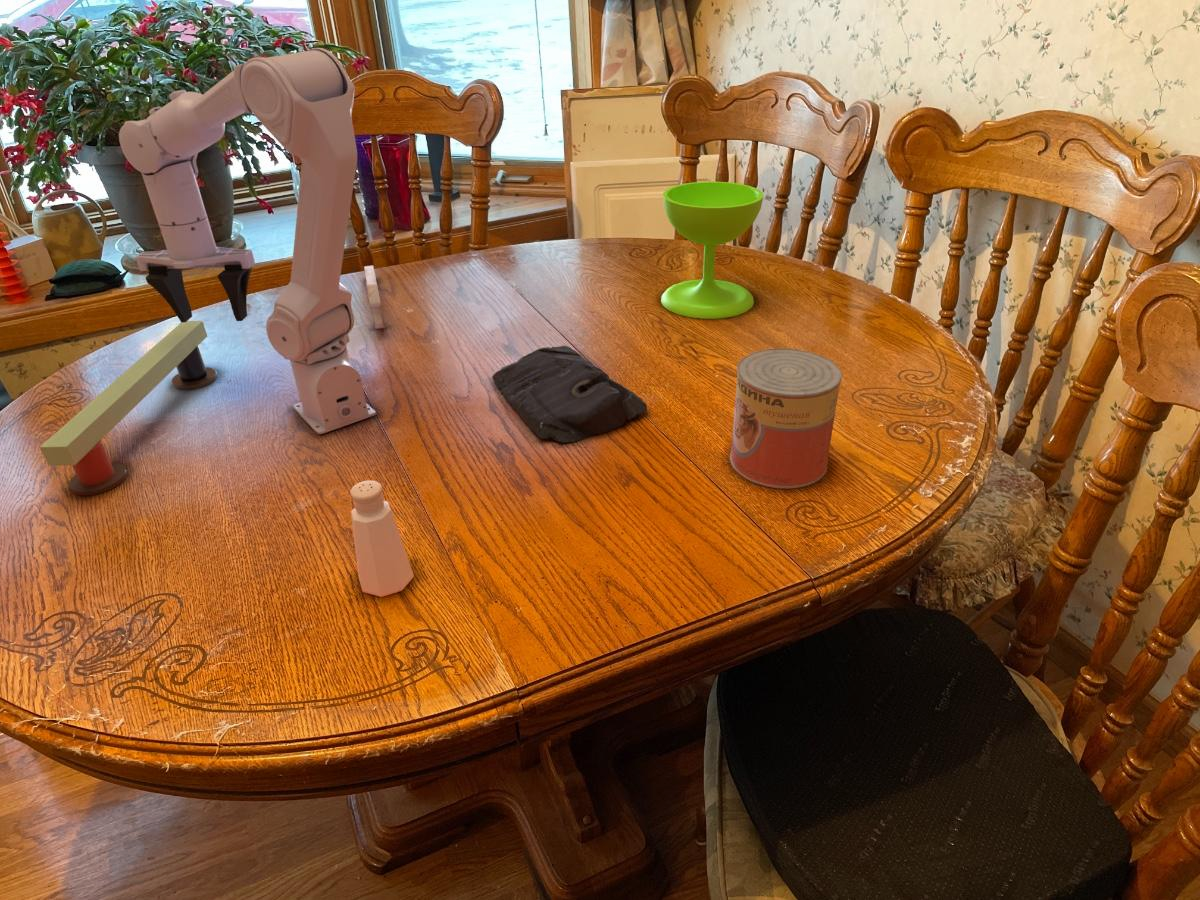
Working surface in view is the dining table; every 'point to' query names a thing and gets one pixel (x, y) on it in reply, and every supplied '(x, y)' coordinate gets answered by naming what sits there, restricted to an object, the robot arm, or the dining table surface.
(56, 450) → the bar
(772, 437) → the canned food
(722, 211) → the wineglass
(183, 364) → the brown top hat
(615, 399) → the black fabric pouch
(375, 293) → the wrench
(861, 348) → the dining table surface
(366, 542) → the pepper shaker
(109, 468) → the red top hat
